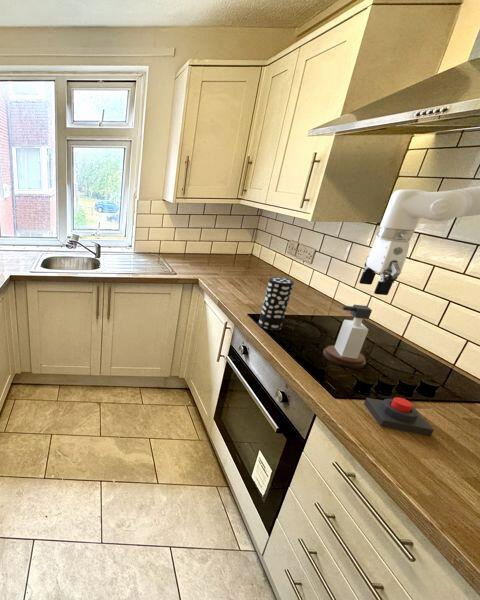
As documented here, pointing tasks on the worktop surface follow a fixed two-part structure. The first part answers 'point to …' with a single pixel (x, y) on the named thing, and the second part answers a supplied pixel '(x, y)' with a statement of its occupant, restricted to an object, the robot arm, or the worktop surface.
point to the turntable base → (343, 363)
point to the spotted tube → (275, 303)
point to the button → (402, 404)
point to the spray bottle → (351, 336)
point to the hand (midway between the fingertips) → (372, 288)
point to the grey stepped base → (397, 417)
